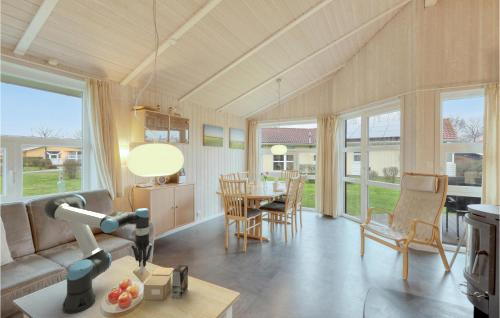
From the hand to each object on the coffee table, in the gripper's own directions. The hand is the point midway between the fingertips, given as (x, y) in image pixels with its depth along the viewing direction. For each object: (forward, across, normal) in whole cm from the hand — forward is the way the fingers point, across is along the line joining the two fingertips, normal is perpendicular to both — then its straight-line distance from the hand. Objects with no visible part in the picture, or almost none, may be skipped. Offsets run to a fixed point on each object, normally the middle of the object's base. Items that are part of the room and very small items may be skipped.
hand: (142, 271), depth 141 cm
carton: (+14, +9, +4) cm, 18 cm away
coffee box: (+15, +23, +1) cm, 27 cm away
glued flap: (+5, +3, 0) cm, 5 cm away
